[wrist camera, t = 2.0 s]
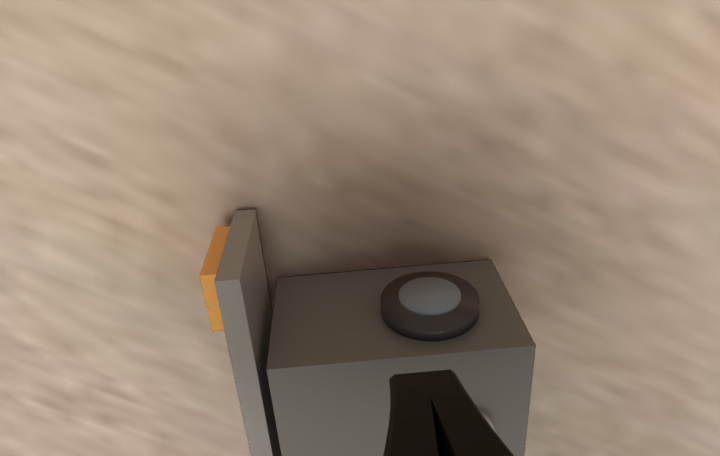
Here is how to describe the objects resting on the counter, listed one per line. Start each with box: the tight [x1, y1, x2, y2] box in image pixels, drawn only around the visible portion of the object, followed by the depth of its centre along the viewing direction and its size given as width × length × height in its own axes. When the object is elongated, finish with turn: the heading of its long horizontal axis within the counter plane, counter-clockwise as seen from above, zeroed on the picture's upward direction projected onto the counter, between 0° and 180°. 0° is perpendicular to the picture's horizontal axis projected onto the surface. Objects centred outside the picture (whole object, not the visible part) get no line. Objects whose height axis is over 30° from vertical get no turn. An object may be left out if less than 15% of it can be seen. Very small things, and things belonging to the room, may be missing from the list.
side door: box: [200, 209, 282, 456], centre depth 21 cm, size 14×1×4 cm, turn 3°
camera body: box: [266, 260, 536, 456], centre depth 21 cm, size 11×8×6 cm
